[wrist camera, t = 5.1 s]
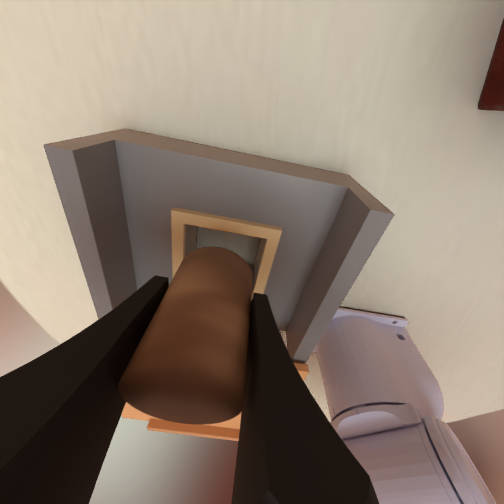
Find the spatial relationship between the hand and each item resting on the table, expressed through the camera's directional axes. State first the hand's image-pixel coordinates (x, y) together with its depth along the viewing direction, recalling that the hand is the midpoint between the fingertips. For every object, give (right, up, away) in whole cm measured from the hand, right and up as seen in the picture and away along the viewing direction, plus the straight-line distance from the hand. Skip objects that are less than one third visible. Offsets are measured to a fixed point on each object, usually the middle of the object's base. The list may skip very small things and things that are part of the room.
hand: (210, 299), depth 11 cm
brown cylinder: (0, +1, +1) cm, 2 cm away
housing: (0, +4, +9) cm, 9 cm away
